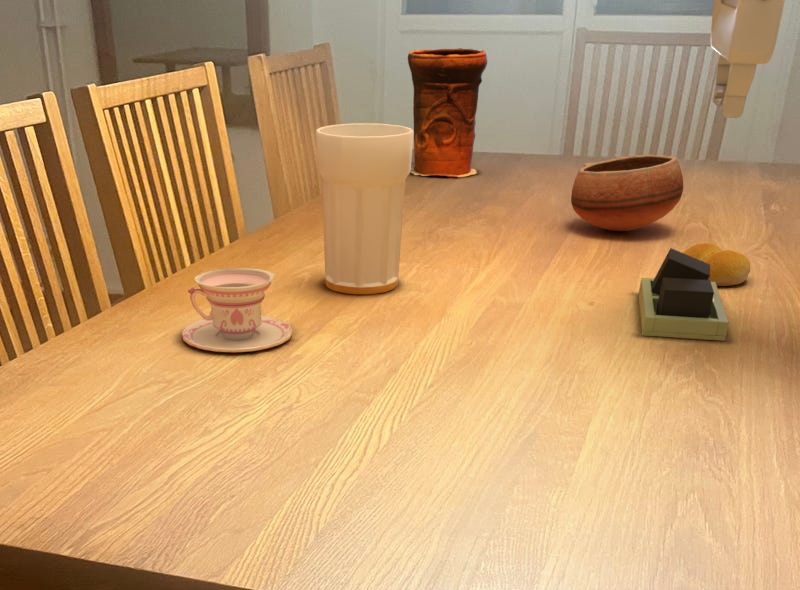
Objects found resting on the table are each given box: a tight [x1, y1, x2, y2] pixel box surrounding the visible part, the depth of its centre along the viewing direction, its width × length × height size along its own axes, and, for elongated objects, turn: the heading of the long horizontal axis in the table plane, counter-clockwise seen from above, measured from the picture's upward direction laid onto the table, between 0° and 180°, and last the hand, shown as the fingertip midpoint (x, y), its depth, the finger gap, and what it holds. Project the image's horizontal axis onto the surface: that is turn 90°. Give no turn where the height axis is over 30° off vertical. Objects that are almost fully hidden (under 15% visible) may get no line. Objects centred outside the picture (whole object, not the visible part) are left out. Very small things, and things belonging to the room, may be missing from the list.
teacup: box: [181, 267, 293, 353], centre depth 103 cm, size 12×12×6 cm
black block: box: [656, 278, 714, 318], centre depth 105 cm, size 5×5×4 cm
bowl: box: [570, 154, 684, 232], centre depth 142 cm, size 16×16×10 cm
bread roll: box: [681, 242, 751, 287], centre depth 121 cm, size 8×9×4 cm
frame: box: [637, 277, 730, 342], centre depth 109 cm, size 8×16×2 cm, turn 166°
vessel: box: [407, 47, 488, 178], centre depth 179 cm, size 14×14×20 cm
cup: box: [315, 122, 414, 296], centre depth 116 cm, size 11×11×17 cm
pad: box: [651, 247, 710, 295], centre depth 111 cm, size 5×5×4 cm
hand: (725, 110), depth 94 cm, fingers open, 8 cm apart
